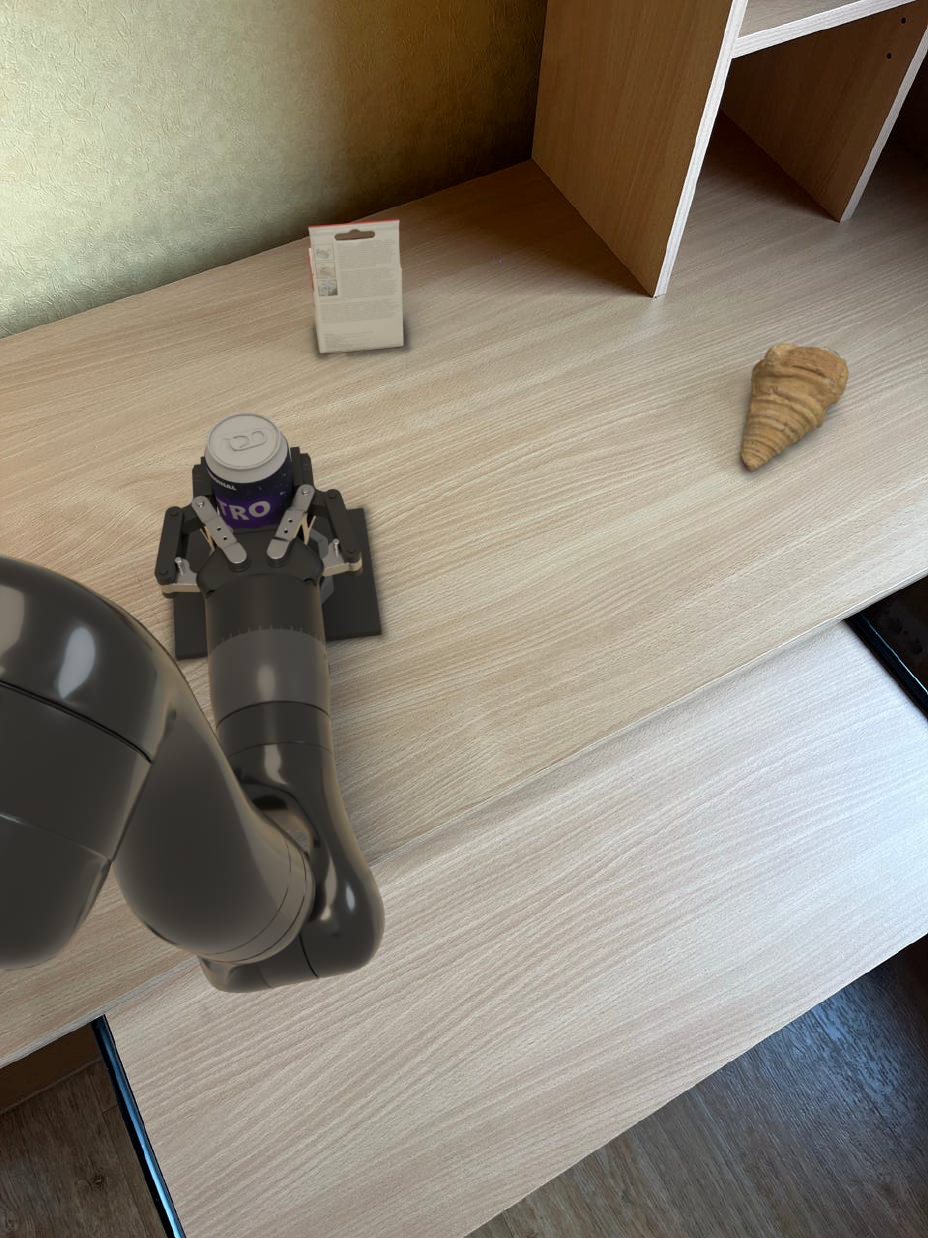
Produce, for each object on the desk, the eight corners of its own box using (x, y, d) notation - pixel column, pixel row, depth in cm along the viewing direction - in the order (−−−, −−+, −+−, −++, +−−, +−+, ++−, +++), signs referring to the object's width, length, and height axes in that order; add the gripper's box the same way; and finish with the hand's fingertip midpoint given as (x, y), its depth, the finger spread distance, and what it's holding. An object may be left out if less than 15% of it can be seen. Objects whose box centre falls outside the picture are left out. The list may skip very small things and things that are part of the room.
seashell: (742, 491, 98) (827, 498, 93) (710, 450, 92) (799, 456, 87) (783, 360, 100) (868, 360, 96) (754, 312, 94) (844, 309, 89)
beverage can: (220, 526, 81) (190, 421, 71) (290, 503, 83) (271, 397, 72) (242, 583, 79) (214, 483, 68) (314, 559, 80) (298, 458, 70)
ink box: (316, 328, 100) (301, 198, 88) (399, 321, 101) (396, 191, 89) (319, 356, 99) (305, 228, 86) (404, 349, 99) (402, 221, 87)
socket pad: (177, 660, 82) (169, 643, 80) (172, 534, 88) (165, 514, 86) (381, 634, 84) (380, 617, 82) (363, 512, 90) (362, 492, 88)
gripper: (378, 619, 65) (348, 412, 74) (140, 649, 64) (137, 434, 72) (382, 675, 72) (354, 479, 80) (166, 704, 70) (161, 501, 78)
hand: (251, 459), depth 76 cm, fingers closed on beverage can, 5 cm apart
